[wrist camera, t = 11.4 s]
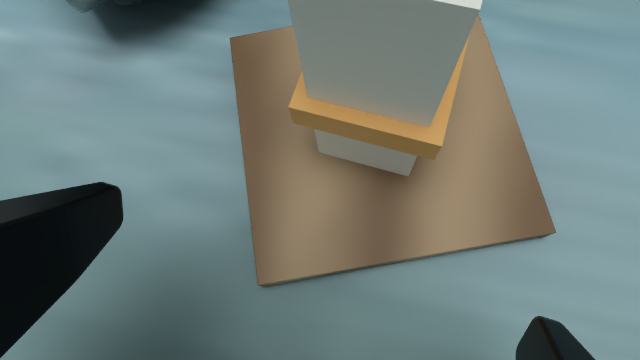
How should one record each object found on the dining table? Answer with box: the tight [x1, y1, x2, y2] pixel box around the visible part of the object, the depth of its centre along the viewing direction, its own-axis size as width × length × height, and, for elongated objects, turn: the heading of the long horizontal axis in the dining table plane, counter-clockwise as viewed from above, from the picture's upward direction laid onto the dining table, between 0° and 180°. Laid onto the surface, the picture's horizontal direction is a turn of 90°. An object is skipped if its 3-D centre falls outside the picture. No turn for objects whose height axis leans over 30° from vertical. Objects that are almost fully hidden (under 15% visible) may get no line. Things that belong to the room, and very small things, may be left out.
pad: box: [230, 14, 556, 287], centre depth 18 cm, size 12×12×1 cm
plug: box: [288, 0, 482, 177], centre depth 12 cm, size 5×5×12 cm
